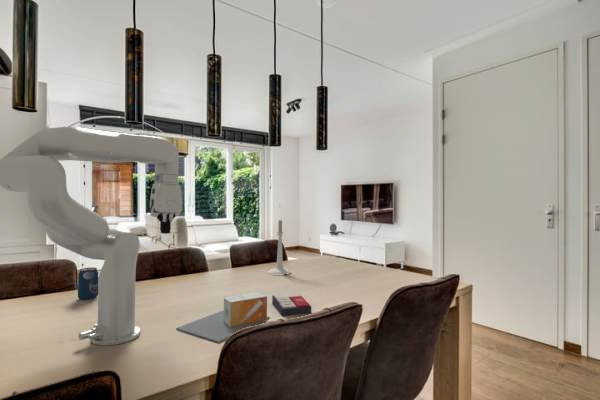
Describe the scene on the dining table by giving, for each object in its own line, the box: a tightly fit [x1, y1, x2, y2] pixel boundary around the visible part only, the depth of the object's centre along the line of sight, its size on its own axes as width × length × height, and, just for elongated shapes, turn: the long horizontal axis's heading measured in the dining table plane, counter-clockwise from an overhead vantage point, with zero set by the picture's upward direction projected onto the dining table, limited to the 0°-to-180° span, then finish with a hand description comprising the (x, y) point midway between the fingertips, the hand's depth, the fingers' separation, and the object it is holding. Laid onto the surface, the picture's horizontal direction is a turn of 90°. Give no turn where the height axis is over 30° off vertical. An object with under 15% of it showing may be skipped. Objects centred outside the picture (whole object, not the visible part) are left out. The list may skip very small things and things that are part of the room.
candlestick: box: [267, 219, 292, 275], centre depth 187 cm, size 13×13×30 cm
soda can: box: [77, 267, 99, 302], centre depth 134 cm, size 7×7×12 cm
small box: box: [223, 291, 268, 327], centre depth 111 cm, size 8×6×13 cm
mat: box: [175, 309, 270, 344], centre depth 109 cm, size 24×18×1 cm
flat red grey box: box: [271, 292, 312, 317], centre depth 126 cm, size 11×4×15 cm
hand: (165, 233), depth 116 cm, fingers closed
